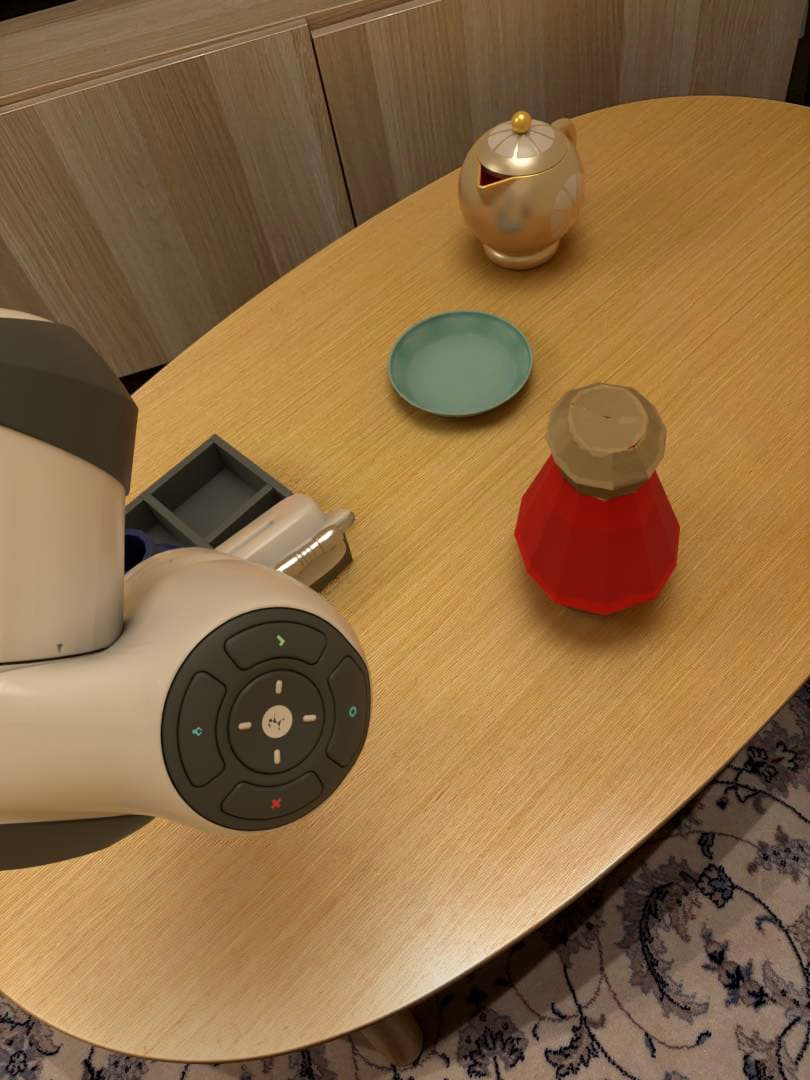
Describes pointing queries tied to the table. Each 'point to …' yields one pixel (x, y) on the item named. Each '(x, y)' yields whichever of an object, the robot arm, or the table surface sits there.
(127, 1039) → the table surface
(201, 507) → the tray
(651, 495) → the bottle
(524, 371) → the saucer
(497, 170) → the teapot
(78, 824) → the robot arm
